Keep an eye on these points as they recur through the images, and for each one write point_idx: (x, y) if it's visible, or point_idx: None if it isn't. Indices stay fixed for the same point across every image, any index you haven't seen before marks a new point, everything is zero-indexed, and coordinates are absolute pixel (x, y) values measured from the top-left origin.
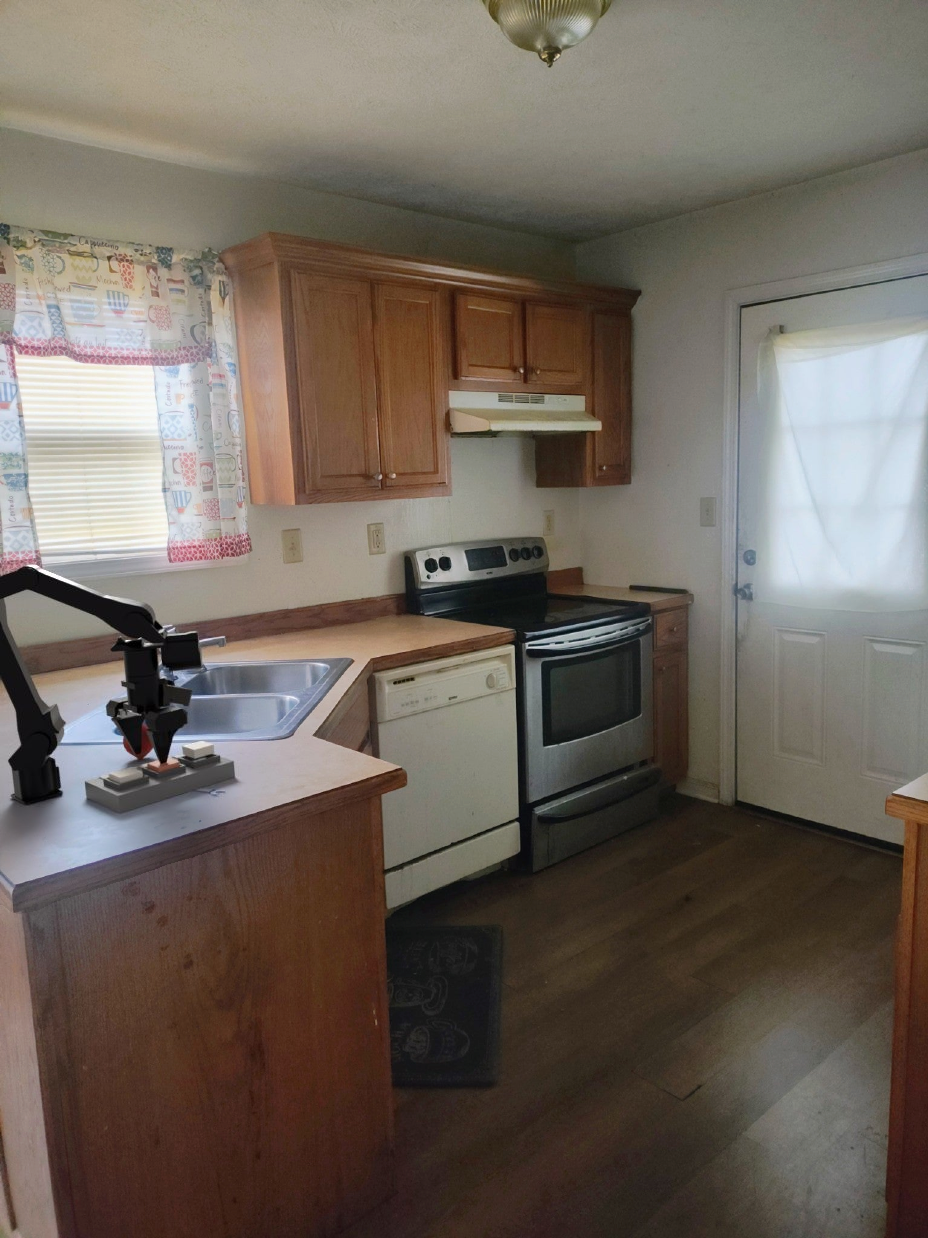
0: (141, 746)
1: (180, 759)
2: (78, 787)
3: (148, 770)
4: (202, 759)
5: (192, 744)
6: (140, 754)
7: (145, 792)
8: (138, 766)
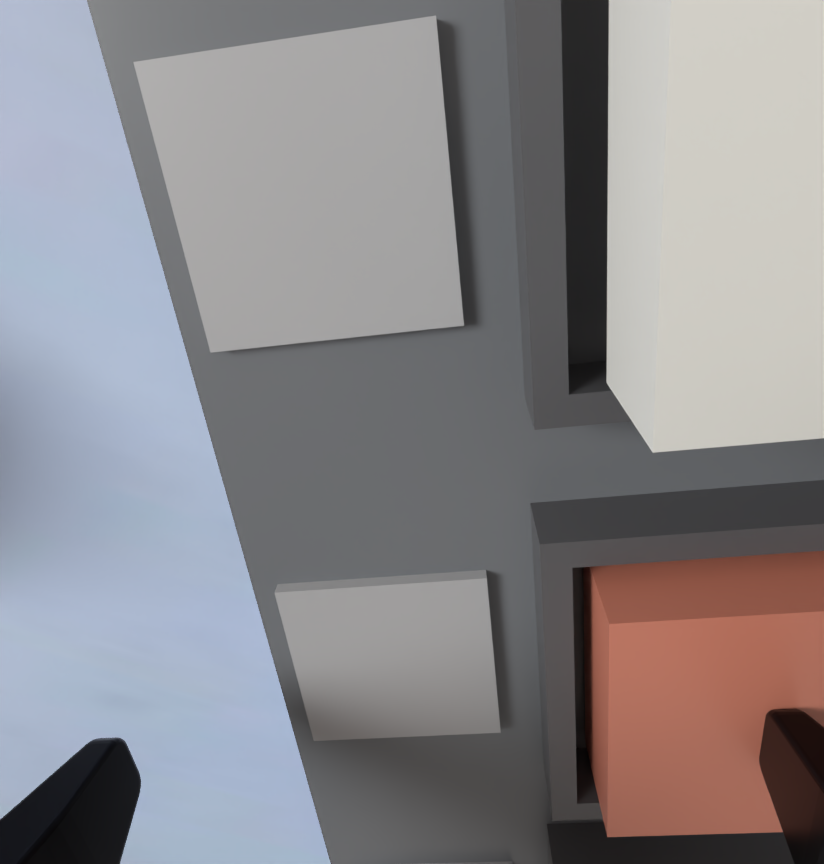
0: (66, 814)
1: (608, 414)
2: (138, 844)
3: None
4: None
5: (758, 221)
6: None
7: None
8: (334, 736)
